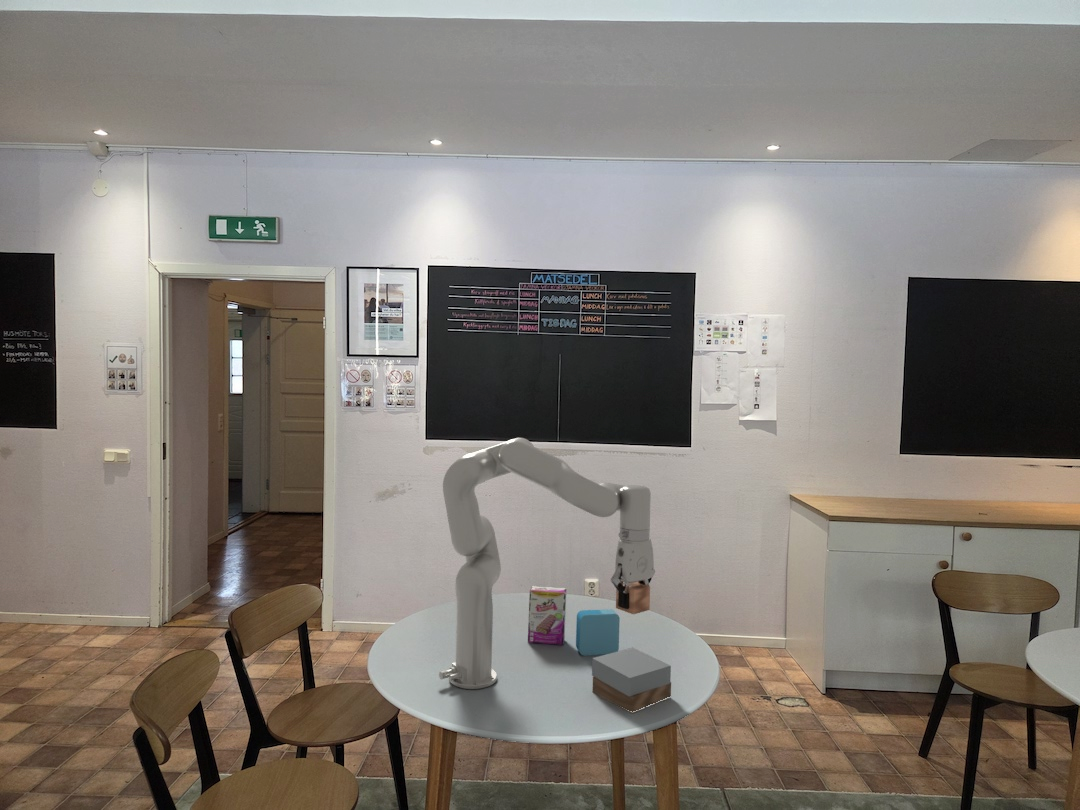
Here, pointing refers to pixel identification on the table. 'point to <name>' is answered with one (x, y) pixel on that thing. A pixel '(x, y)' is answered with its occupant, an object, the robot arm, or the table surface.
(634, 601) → the stack block
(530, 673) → the table surface
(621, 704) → the tower bottom
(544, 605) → the candy bar box
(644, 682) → the tower top
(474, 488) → the robot arm
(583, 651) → the blue rounded block
